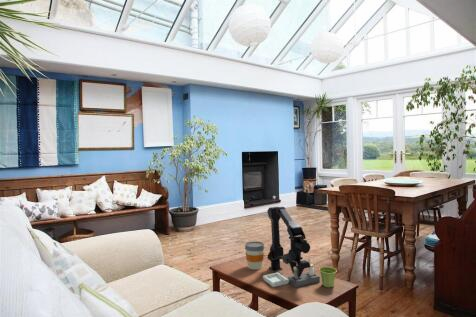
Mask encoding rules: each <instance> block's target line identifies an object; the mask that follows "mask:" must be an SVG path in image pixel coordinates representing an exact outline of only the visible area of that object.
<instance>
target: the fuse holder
mask: <svg viewBox="0 0 476 317" xmlns="http://www.w3.org/2000/svg"><path fill="white" fill-rule="evenodd" d="M287 279H288V280H289V284H291V285H292V286H293V287H295V288H298V287H299V288H300V287H304V286H308V285H312V284H316V283H320V281H321V275H318V274H316V273H314V276H313V277H309V276H308V272H304V273H303V272H302V274H301V276H300V277H299V280H294V275H290V276H287Z"/></svg>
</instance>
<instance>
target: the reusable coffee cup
mask: <svg viewBox="0 0 476 317" xmlns="http://www.w3.org/2000/svg"><path fill="white" fill-rule="evenodd" d="M244 247H245V248H244V249H245V257H246V258H245V259H246V261H247V266H248V269H250V270H261V269H262V268H263V261H264V256H265V252H264V250H265V243H264V242H261V241H249V242H245V244H244Z"/></svg>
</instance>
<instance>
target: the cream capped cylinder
mask: <svg viewBox="0 0 476 317" xmlns="http://www.w3.org/2000/svg"><path fill="white" fill-rule="evenodd" d="M293 269H294V274H293V276H294V280H299V277H298V273H297V268H296V267H293Z"/></svg>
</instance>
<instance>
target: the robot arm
mask: <svg viewBox="0 0 476 317" xmlns="http://www.w3.org/2000/svg"><path fill="white" fill-rule="evenodd" d="M267 216H268V218H269V220H270V223H271V226H270V227H271V244H270V246H269V253H268V254H267V260H268V261H270V266H268V268H269V269H270V271H273V272H276V271H281V270H283V268H282V267H281V260H282V262H283V264H285V265H289V266H290V267H289V268H290V270H291V272H292V275H294V269H293V267H296V268H297V273H298V277H300V276H301V274H303V271H305V269H308V268H309V267H310V264H311V262H309V261H307V260H306V259H304V258H303V256H302V253H303V254H308V253H309V252H310V250H311V245H310V243H309V242H308V240H307V239H306V233H305V232H304V230H303V228H302V226H301V225H300V224H299V223H298V222H295V221H294V220H293V218H292V216H290V214H289V213H288V211H287V210H286V207H285V206H272V207H268V209H267ZM280 220H282V222H283V223H284V224H285V226H286V231H287V233H288V236H289V237H288V239H289V241H290V248H289V249H288V252H287V253H284V247H283V246H282V244H281V239H280V238H281V237H280ZM303 259H304V260H303Z"/></svg>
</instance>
